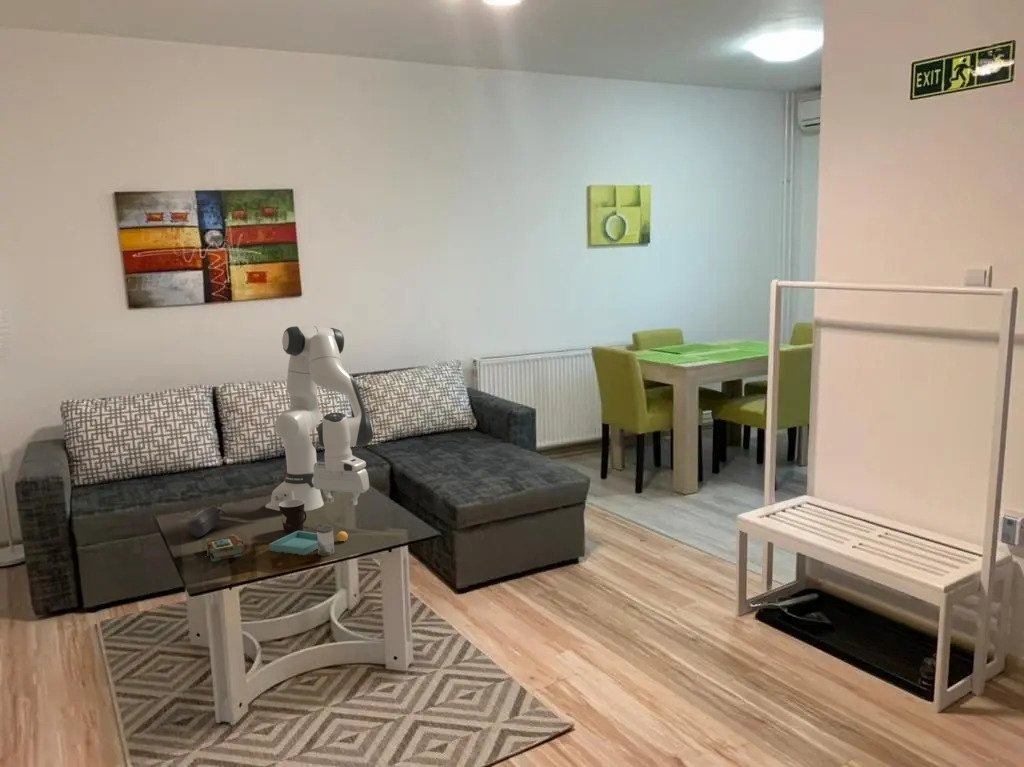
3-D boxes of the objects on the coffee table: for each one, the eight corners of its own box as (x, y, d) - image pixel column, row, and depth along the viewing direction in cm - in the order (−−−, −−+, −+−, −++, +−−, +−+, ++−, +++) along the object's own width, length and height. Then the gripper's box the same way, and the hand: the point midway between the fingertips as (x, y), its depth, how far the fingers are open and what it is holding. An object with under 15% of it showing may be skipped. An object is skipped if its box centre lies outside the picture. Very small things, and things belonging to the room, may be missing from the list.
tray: (269, 551, 265) (269, 543, 265) (298, 537, 278) (297, 530, 278) (303, 556, 259) (303, 549, 259) (331, 542, 272) (331, 535, 272)
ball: (335, 542, 272) (334, 532, 271) (341, 539, 275) (340, 529, 274) (343, 544, 270) (343, 533, 270) (350, 540, 273) (349, 530, 273)
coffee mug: (279, 529, 287) (277, 501, 286) (304, 525, 291) (302, 498, 289) (284, 539, 277) (281, 510, 275) (309, 535, 280) (307, 507, 278)
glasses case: (201, 524, 296) (200, 503, 295) (231, 523, 296) (229, 503, 294) (181, 541, 278) (179, 519, 277) (212, 540, 278) (210, 518, 277)
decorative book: (237, 540, 278) (236, 526, 277) (247, 556, 262) (245, 541, 262) (195, 548, 272) (194, 533, 271) (203, 564, 256) (201, 549, 256)
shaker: (314, 555, 260) (312, 528, 259) (325, 549, 265) (323, 522, 264) (328, 557, 258) (326, 529, 257) (338, 551, 263) (336, 524, 262)
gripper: (307, 463, 270) (311, 504, 272) (358, 466, 261) (362, 508, 263) (319, 458, 276) (322, 498, 278) (370, 462, 267) (373, 503, 269)
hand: (342, 503), depth 270 cm, fingers open, 8 cm apart
